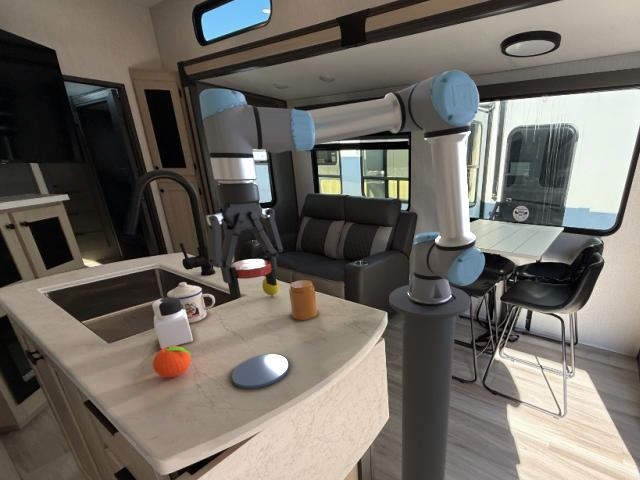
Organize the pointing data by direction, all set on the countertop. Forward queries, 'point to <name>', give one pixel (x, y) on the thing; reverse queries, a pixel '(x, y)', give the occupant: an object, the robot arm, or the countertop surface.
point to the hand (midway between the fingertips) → (254, 289)
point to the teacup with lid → (191, 301)
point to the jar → (303, 300)
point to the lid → (252, 268)
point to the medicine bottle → (171, 322)
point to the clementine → (171, 361)
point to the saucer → (260, 371)
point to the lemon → (270, 288)
